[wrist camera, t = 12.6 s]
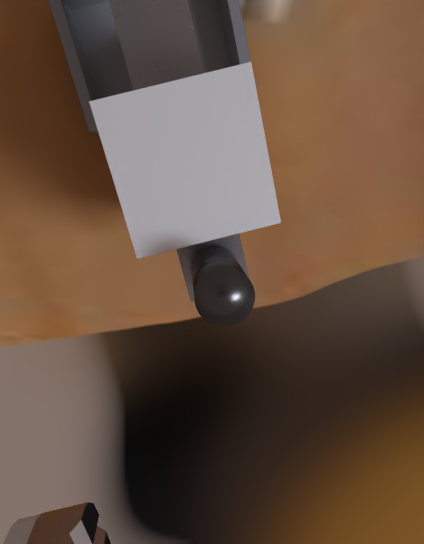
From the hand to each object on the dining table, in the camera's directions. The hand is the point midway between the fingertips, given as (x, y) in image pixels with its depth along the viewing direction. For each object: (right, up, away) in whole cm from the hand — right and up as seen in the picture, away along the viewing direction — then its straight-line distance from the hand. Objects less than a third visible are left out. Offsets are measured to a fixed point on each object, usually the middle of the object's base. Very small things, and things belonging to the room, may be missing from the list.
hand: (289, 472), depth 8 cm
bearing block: (-4, +14, +26) cm, 29 cm away
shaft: (-3, +12, +17) cm, 21 cm away
